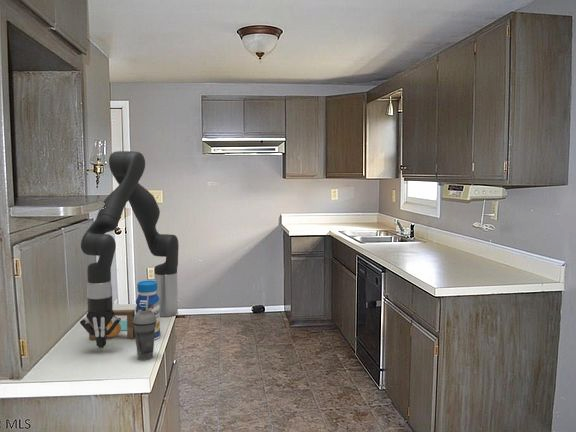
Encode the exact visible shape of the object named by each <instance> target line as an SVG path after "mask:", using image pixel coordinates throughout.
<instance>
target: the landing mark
mask: <svg viewBox="0 0 576 432" xmlns="http://www.w3.org/2000/svg"><path fill="white" fill-rule="evenodd" d="M119 323H120V325H121V331H120V332H127V320H121V321H120V322H119Z"/></svg>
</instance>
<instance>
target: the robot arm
mask: <svg viewBox="0 0 576 432" xmlns="http://www.w3.org/2000/svg"><path fill="white" fill-rule="evenodd" d="M108 165H109V170H110V172H111V174H112V177H113V178H114V179H115V180H116V182H117V184H118V186H117V187H116V188H115V189H114V190H112V191H111V192H110V193H109V194H108V196H106V197H105V199H104V200H103V202H104V203H105V205H104V207H103V208H104V209H101V210H100V209H99V211H98V213H97V214H96V215H97V216H96V218H95V220H94V221H93V222H92V223H91V224H90V226H89V227H88V229H87V230H86V232H85V233H84V234H83V236H82V238H81V241H80V249H81V251H82V253H83V254H84V255H88V256H97V257H98V261H97V262H93V263H90V264H89V265H88V266H87V286H86V288H87V290H86V291H87V292H86V296H87V298H86V299H87V313H86V314H85V315H86V317H84V318H82V319H81V320H80V321H79V323H80V325H81V326H82V327H83V329H85V331H86V332H87V333H88V335H89V334H90V335H94V336H96V340H95V343H96V347H98V349H103V348H105V347H106V345H107V336H106V335H109V334H110V333H111V332H112V331H113V330H114V328H115V327H116V326H117V325H118V323H119V322H120V321H122V318H121V317H118V316H114V312H113V310H114V308H113V284H112V274H111V273H112V272H111V270H112V269H111V267H112V263H113V260H114V256H115V252H116V249H117V248H116V247H117V243H116V240H115V238H114V237H113V236H112V235H111V234H109V232H112V231H115V230H116V229H118V225H119V222H120V220H121V217H122V215H123V211H124V209H125V208H126V205H127V203H129V206H130V208H131V210H132V211H133V214H134V216H135V218H136V220H137V221H138V224H139V225H140V228H141V230H142V232H143V235H144V237H145V241H146V244H147V247H148V249H149V251H150V253H151V254H152V256H154V257H161V258H163V257H165V261H164V262H163V263H161V264H157V265H156V266H154V269H153V272H154V273H153V275H154V276H153V277H154V279H153V281H156V282H157V291H156V294H157V295H158V297H159V299H160V302H159V305H160V317H162V318H163V317H166V318H167V317H172V316H175V315H178V313H179V309H178V307H179V306H178V303H179V301H178V299H179V298H178V297H179V296H178V291H179V290H178V266H179V249H180V248H179V247H180V245H179V239H178V237H177V235H176V234H167V233H164V234H163V233H159V232H158V230H157V227H156V225H157V224H158V221H159V218H160V212H161V211H160V207H159V205H158V202H157V200H156V198H155V197H154V195H153V194H152V193H151V192H150V191H149V190H148V189H147V188H145V187H144V186H143V185H141V184H140V183H139V182H140V180H141V179H142V176H143V174H144V172H145V169H146V159H145V157H144V155H143V154H142V153H141V152H140V151H134V150H133V151H132V150H131V151H127V150H126V151H123V150H119V151H113V152H112V153H110V155H109V156H108ZM105 207H106V208H105ZM107 233H108V234H107ZM111 320H113V321H112V323H113V325H112V326H111V327H110V328H109V330H107V325H108V324H109V322H110V321H111ZM89 321H90V322H91V323H92V325H94V328H93V327H92V326H91V324H90V323H89Z"/></svg>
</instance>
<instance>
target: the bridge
mask: <svg viewBox="0 0 576 432" xmlns="http://www.w3.org/2000/svg"><path fill="white" fill-rule="evenodd" d="M113 312H114V316H116V317H118V316H119V317H121V316H123V317H124V316H126V321H127V331H126V332H127V334H126V335H127V337H126V338H127V340H133V339H134V340H135V330H134V327H133V319H134V316H135V314H136V311H135V309H113ZM89 323H90V324H91V326H92V327H93V328H94V325H92V323H91V322H90V321H89ZM88 336H89V341H96V336H94V335H90V334H89V333H88Z"/></svg>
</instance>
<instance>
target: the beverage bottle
mask: <svg viewBox="0 0 576 432" xmlns="http://www.w3.org/2000/svg"><path fill="white" fill-rule="evenodd" d="M136 284H137V288H136V289H137V292H138V295H137V297H136V298H135V304H136V306H135V309H134V310H135V314H136V313H137V312H138V311H139V310H141V309H146V302H147V295H149V299H148V309H149V310H151V311H152V312H153V313H154V314H155V316H156V320H157V322H156V327H155V335H154V341H156V340H158V339H159V338H160V337H161V322H160V321H161V318H160V317H161V316H160V305H159V302H160V299H159V297H158V295H157V294H156V291H157V282H156V281H154V280H141V281H138V282H137V283H136Z"/></svg>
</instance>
